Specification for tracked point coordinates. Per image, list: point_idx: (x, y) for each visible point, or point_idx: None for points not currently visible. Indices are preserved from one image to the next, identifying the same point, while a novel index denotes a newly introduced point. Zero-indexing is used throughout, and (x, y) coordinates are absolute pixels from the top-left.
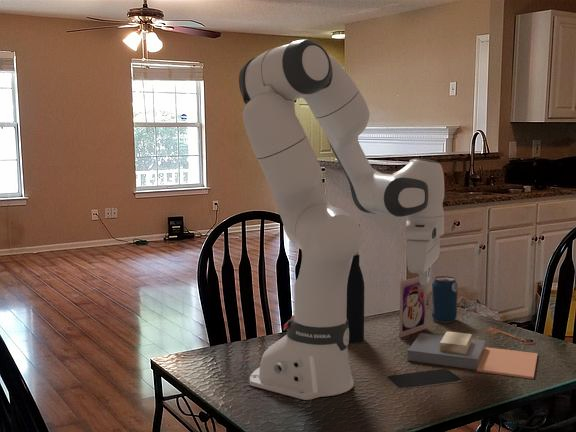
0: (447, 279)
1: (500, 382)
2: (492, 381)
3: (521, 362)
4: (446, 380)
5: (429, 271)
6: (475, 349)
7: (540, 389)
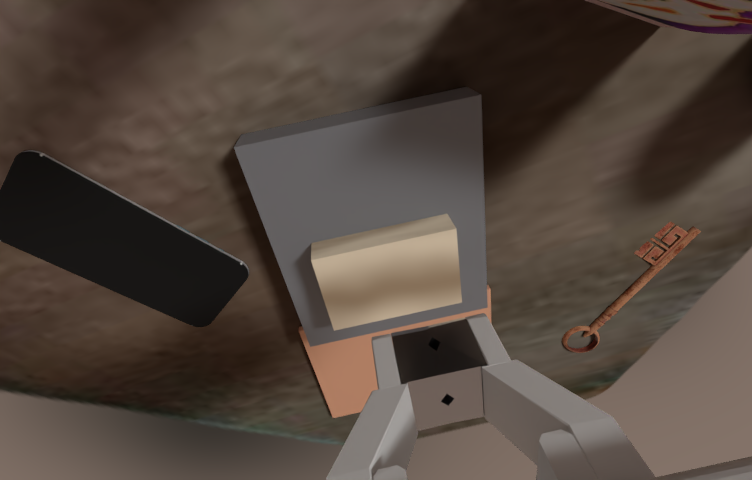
0: None
1: (266, 381)
2: (259, 369)
3: None
4: (165, 304)
5: (524, 451)
6: None
7: (284, 434)
